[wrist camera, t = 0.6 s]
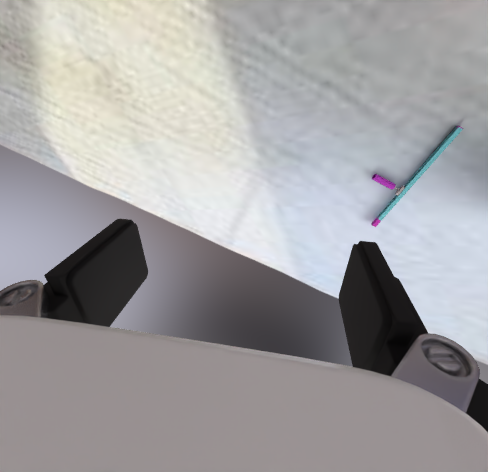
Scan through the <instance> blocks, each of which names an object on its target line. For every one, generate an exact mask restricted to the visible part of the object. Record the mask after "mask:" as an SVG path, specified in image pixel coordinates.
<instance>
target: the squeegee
mask: <svg viewBox="0 0 488 472" xmlns="http://www.w3.org/2000/svg"><path fill="white" fill-rule="evenodd" d="M462 130H463V128H462V127H460V126H456V127H455V128H454V130H453V131H452V132H451V133H450V134H449V135H448V136H447V138H446V139H445V140H444V141H443V142H442V143H441V144H440V146H439V147H438V148H437V149H436V150H435V151H434V152H433V154H432V155H431V156H430V157H429V158H428V159H427V160H426V162H425V163H424V164H423V165H422V166H421V167H420V168H419V170H418V171H417V172H416V173H415V174H414V175H413V176H412V178H411V179H410V180H409V181H408V182H407V183H406V184H405V186H401V187H400V188H399V189H398V188H396V187H395V186H396V184H394V183H392V182H390V181H388V180H387V179H385V178H383V177H381V176H379V175H377V174H374V175H373V177H372V179H373V180H375V181H377V182H378V183H380V184H382V185H384V186H386V187H388V188H390V189H394V188H395V189H397V191H396V193H395V194H396V196H395V197H394V198H393V199H392V200H391V202H390V203H389V204H388V205H387V206H386V207H385V209H384V210H383V211H382V212H381V213H380V214H379V215H378V217H377V218H376V219H375V220H374V221H373V222H372V223H371V224H372V225H373V226H375V227H376V226H377V225H378V224H379V223H380V221H381V220H382V219H383V218H384V217H385V216H386V215H387V214H388V212H389V211H390V210H391V209H392V208H393V207H394V206H395V205H396V203H397V202H398V201H399V200H400V199H401V198H402V197H403V196H404V195H405V193H406V192H407V191H408V190H409V189H410V188H411V187H412V186H413V184H414V183H415V182H416V181H417V180H418V179H419V178H420V177H421V175H422V174H423V173H424V172H425V171H426V170H427V169H428V168H429V167H430V165H431V164H432V163H433V162H434V161H435V160H436V159H437V158H438V156H439V155H440V154H441V153H442V152H443V151H444V150H445V149H446V147H447V146H448V145H449V144H450V143H451V142H452V141H453V140H454V138H455V137H456V136H457V135H458V134H459V133H460V132H461V131H462Z"/></svg>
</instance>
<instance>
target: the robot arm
mask: <svg viewBox="0 0 488 472" xmlns="http://www.w3.org/2000/svg"><path fill="white" fill-rule="evenodd" d="M147 275H148V268H147V265H146V260H145V256H144V252H143V248H142V244H141V239H140V235H139V231H138V227H137V225H136V224H135V223H134V222H133V221H132V220H127V219H117V220H115V221H114V222H113V223H112V224H110V225H109V226H108V227H106V228H105V229H104V230H102V231H101V232H100V233H99V234H97V235H96V236H95V237H93V238H92V239H91V240H89V241H88V242H87V243H86V244H84V245H83V246H82V247H80V248H79V249H78V250H76V251H75V252H74V253H73V254H71V255H70V256H69V257H67V258H66V259H65V260H64V261H62V262H61V263H60V264H58V265H57V266H56V267H54V268H53V269H52V270H50V271H49V272H48V273H47V274H45V278H46V280H47V281H48V282H47V283H46V284H45V285H43V283H41V282H40V281H37V280H27V281H22V282H18V283H15V284H12V285H10V286H8V287H6V288H4V289H3V290H1V291H0V472H488V384H486V383H485V382H483V381H481V380H480V379H479V375H480V369H479V367H478V365H477V362H476V361H475V360H474V358H473V357H472V356H471V354H470V353H469V352H467V351H466V350H465V349H464V348H463V347H462V346H460V345H459V344H457V343H456V342H454V341H452V340H450V339H448V338H446V337H444V336H440V335H437V334H428V332H427V330H426V328H425V326H424V324H423V323H422V321H421V319H420V317H419V315H418V313H417V312H416V310H415V308H414V306H413V304H412V302H411V300H410V299H409V297H408V295H407V293H406V291H405V289H404V288H403V286H402V284H401V282H400V281H399V279H398V278H396V277H394V276H393V274H392V272H391V270H390V268H389V266H388V264H387V262H386V260H385V259H384V257H383V255H382V253H381V251H380V249H379V247H378V245H377V244H376V243H375V242H365V241H360V242H359V243H358V244H354V245H353V248H352V251H351V255H350V258H349V262H348V265H347V269H346V272H345V276H344V279H343V283H342V286H341V290H340V293H339V304H340V308H341V313H342V318H343V323H344V327H345V332H346V337H347V341H348V346H349V351H350V355H351V360H352V364H353V367H350V366H346V365H340V364H335V363H329V362H323V361H317V360H312V359H307V358H301V357H295V356H289V355H283V354H277V353H271V352H264V351H258V350H252V349H246V348H239V347H234V346H227V345H221V344H215V343H208V342H202V341H196V340H190V339H183V338H177V337H171V336H164V335H158V334H151V333H144V332H138V331H131V330H125V329H119V328H111V327H110V325H111V324H112V323H113V321H114V320H115V319H116V317H117V316H118V315H119V313H120V312H121V311H122V309H123V308H124V307H125V306H126V304H127V303H128V301H129V300H130V299H131V298H132V296H133V295H134V294H135V292H136V291H137V290H138V288H139V287H140V286H141V284H142V283H143V282H144V280H145V279H146V278H147Z"/></svg>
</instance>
